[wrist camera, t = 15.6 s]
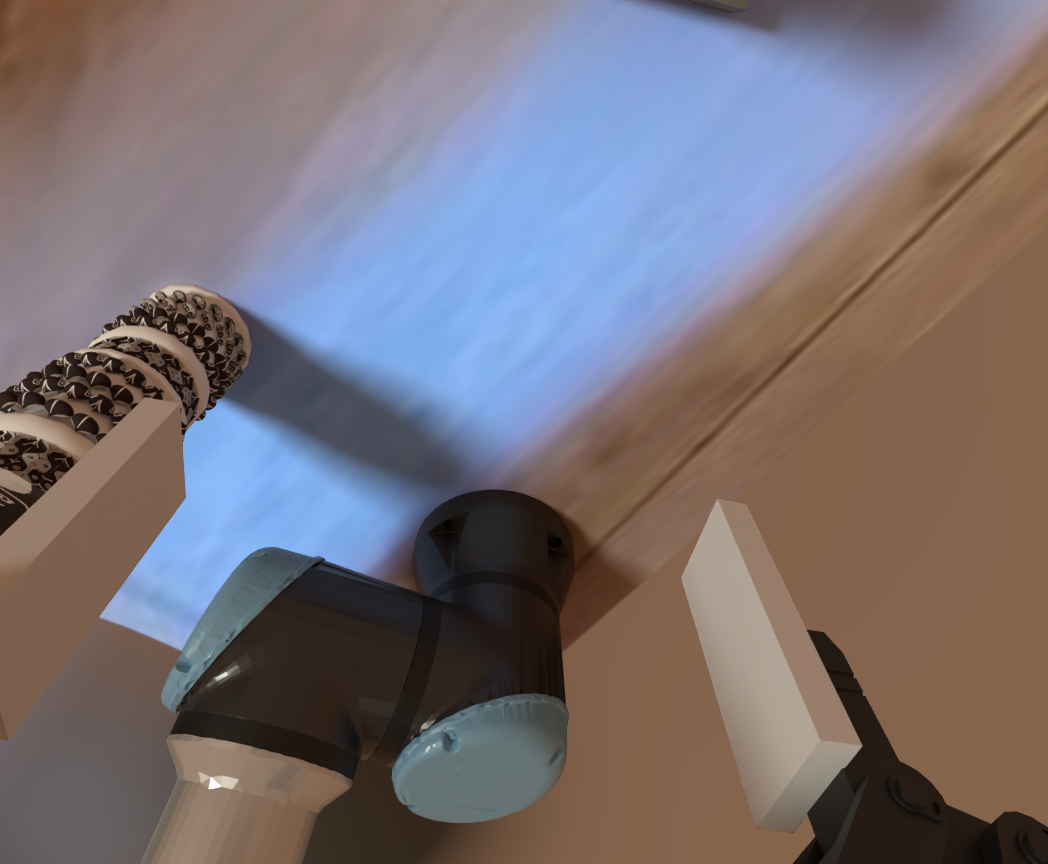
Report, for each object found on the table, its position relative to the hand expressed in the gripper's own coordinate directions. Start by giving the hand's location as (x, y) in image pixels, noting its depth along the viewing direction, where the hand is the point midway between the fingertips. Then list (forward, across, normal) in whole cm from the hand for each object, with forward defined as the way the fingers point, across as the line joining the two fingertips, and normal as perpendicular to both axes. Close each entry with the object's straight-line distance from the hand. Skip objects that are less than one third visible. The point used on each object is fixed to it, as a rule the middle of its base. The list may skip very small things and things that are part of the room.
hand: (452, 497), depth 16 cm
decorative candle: (+35, +21, +15) cm, 43 cm away
